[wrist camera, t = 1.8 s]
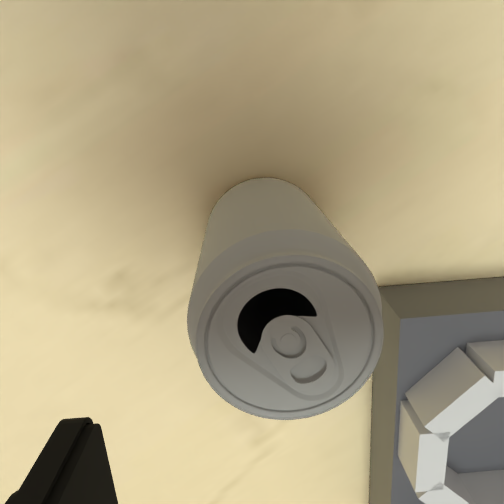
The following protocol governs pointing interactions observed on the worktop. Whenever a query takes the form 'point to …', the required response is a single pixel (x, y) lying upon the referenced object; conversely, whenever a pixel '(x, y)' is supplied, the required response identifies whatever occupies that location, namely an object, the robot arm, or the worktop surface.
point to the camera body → (439, 395)
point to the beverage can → (282, 305)
